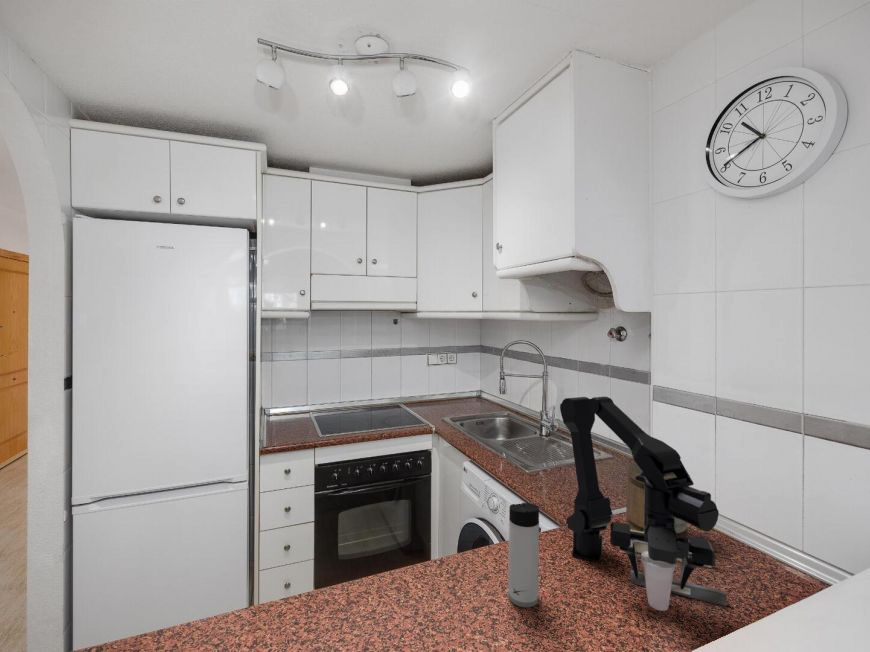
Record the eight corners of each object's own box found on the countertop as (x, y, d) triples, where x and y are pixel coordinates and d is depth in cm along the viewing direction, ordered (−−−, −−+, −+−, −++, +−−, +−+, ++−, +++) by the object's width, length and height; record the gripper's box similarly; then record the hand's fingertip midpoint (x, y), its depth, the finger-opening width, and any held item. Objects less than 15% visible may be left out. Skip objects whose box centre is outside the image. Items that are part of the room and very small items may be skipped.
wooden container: (664, 555, 103) (665, 469, 103) (614, 528, 117) (615, 452, 116) (698, 541, 110) (699, 460, 110) (648, 517, 123) (649, 445, 123)
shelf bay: (630, 583, 92) (631, 561, 92) (628, 548, 106) (629, 529, 106) (726, 607, 85) (727, 583, 84) (710, 565, 99) (710, 545, 99)
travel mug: (517, 611, 83) (518, 513, 82) (503, 591, 89) (504, 499, 89) (544, 606, 84) (545, 510, 84) (529, 586, 91) (530, 496, 90)
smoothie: (680, 617, 81) (680, 548, 81) (646, 613, 83) (646, 544, 82) (669, 596, 88) (669, 531, 87) (637, 592, 89) (637, 528, 89)
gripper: (610, 516, 81) (609, 593, 81) (722, 536, 74) (721, 622, 74) (610, 494, 92) (610, 563, 92) (709, 510, 84) (708, 586, 84)
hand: (658, 582), depth 85 cm, fingers closed on smoothie, 8 cm apart
